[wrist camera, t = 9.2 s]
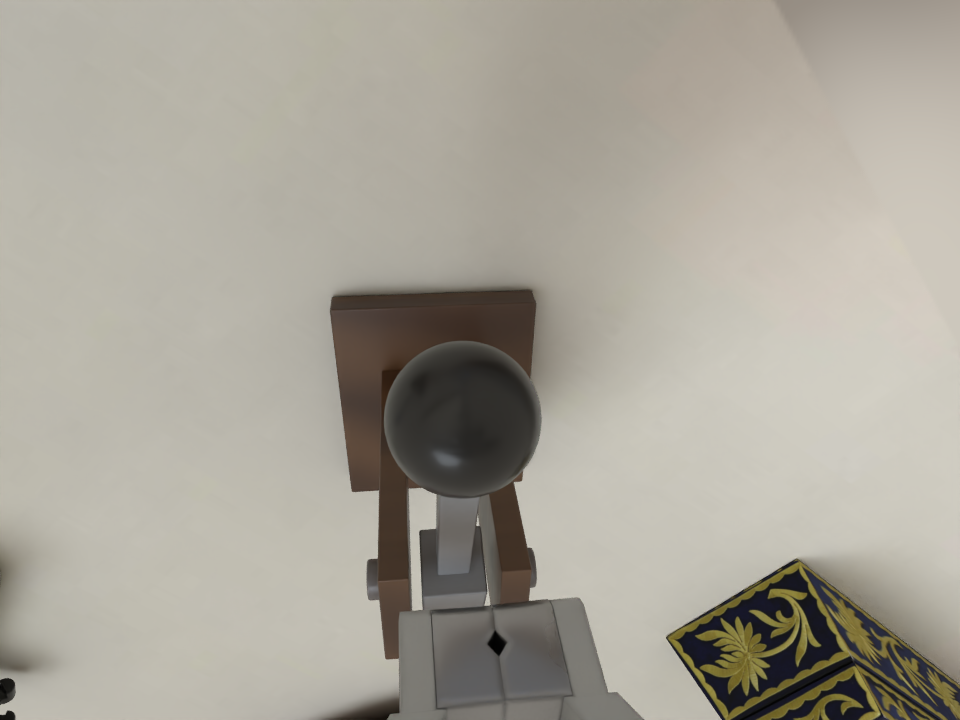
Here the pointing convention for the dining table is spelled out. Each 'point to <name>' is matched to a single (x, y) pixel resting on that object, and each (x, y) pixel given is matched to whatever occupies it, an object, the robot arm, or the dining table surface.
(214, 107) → the dining table surface
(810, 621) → the decorative box
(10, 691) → the valve
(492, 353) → the lever
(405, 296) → the bracket
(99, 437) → the dining table surface
